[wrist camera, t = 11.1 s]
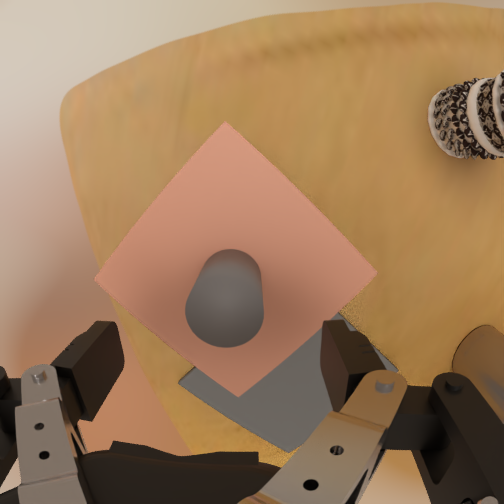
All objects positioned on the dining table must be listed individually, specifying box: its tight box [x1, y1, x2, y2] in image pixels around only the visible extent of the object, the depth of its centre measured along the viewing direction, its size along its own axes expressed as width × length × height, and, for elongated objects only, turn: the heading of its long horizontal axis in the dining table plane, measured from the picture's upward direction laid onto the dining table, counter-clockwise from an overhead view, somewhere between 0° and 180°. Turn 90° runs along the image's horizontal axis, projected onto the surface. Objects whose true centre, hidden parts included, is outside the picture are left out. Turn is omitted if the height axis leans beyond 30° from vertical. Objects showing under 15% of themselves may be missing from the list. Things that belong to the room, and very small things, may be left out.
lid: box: [94, 121, 378, 397], centre depth 17 cm, size 13×13×6 cm
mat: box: [178, 313, 398, 453], centre depth 37 cm, size 20×20×1 cm
